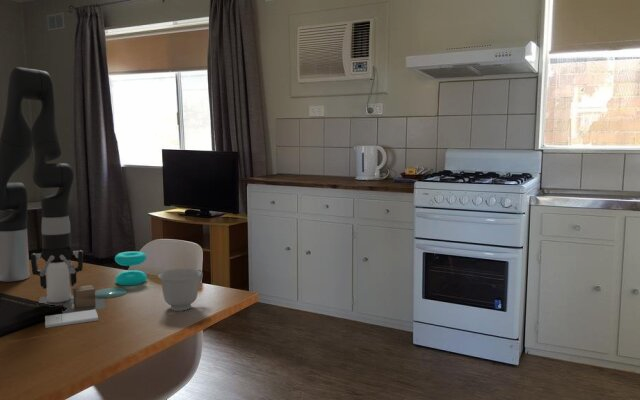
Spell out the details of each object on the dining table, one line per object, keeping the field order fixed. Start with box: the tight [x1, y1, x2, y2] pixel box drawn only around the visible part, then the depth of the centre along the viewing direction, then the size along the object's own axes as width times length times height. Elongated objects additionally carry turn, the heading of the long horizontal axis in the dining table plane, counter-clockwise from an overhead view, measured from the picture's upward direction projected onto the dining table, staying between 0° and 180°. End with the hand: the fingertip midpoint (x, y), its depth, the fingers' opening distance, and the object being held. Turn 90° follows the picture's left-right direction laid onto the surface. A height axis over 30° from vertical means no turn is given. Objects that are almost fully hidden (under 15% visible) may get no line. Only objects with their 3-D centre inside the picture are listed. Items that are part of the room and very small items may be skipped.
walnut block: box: [72, 284, 96, 309], centre depth 149 cm, size 5×5×5 cm
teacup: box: [157, 268, 204, 312], centre depth 148 cm, size 12×15×10 cm
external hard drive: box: [44, 309, 99, 329], centre depth 137 cm, size 2×8×12 cm
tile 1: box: [38, 293, 74, 307], centre depth 153 cm, size 11×11×1 cm
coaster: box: [95, 287, 128, 299], centre depth 161 cm, size 10×10×1 cm
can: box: [45, 261, 72, 303], centre depth 153 cm, size 6×6×12 cm
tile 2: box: [61, 298, 106, 314], centre depth 149 cm, size 11×11×1 cm
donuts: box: [114, 250, 148, 286], centre depth 174 cm, size 10×10×10 cm
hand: (58, 286), depth 153 cm, fingers open, 7 cm apart
